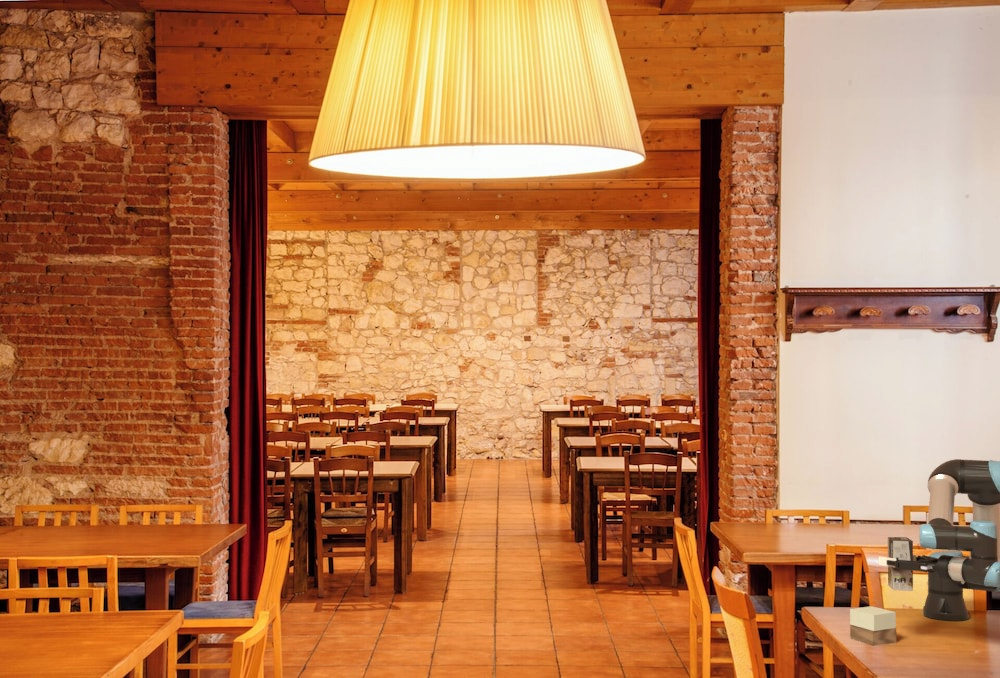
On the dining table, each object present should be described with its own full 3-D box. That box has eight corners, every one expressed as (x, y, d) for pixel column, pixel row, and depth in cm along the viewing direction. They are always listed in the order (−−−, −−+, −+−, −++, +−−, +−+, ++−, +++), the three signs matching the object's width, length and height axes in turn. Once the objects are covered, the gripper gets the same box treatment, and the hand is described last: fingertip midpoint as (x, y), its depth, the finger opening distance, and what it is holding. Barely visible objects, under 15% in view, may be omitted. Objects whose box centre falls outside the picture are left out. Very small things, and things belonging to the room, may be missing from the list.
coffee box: (913, 591, 334) (913, 540, 335) (892, 590, 336) (892, 540, 336) (908, 586, 343) (907, 536, 344) (887, 585, 344) (887, 536, 345)
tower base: (873, 636, 347) (873, 621, 347) (896, 643, 338) (896, 627, 338) (850, 639, 342) (850, 624, 343) (872, 646, 333) (872, 630, 334)
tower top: (871, 621, 347) (871, 606, 347) (895, 627, 338) (895, 612, 338) (850, 624, 342) (850, 609, 342) (874, 631, 333) (873, 615, 333)
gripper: (935, 584, 318) (869, 574, 335) (971, 576, 333) (906, 566, 350) (935, 560, 319) (869, 550, 336) (971, 552, 333) (906, 544, 350)
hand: (888, 558), depth 343 cm, fingers closed on coffee box, 10 cm apart
